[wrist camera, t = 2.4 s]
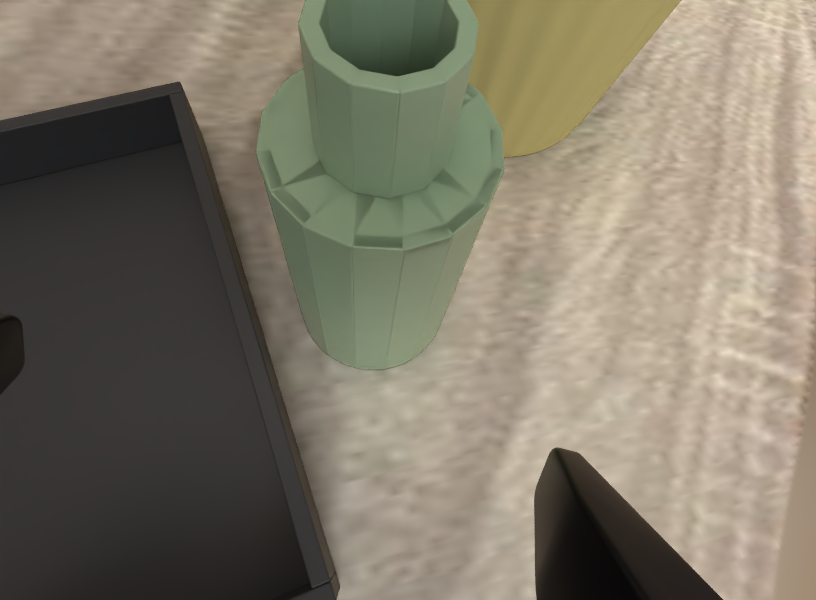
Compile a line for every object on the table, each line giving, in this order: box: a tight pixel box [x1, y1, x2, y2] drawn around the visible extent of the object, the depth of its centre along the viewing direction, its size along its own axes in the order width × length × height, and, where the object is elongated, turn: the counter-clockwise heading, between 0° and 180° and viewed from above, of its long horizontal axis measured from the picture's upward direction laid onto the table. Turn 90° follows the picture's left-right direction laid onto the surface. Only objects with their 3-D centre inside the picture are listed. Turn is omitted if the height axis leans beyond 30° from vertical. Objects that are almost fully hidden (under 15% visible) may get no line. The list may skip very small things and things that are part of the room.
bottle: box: [256, 0, 504, 370], centre depth 17 cm, size 6×6×14 cm
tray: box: [0, 82, 340, 600], centre depth 19 cm, size 21×17×4 cm
